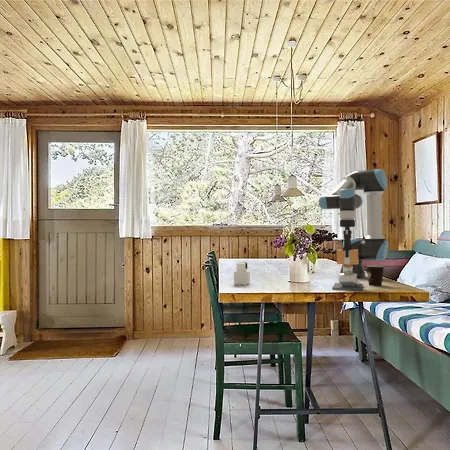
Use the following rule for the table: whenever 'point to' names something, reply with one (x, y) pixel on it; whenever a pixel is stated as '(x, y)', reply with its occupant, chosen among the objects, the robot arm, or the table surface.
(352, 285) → the piston stand
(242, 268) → the medicine bottle
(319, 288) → the table surface
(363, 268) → the robot arm
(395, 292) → the table surface
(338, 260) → the orange brown box
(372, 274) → the coffee mug
